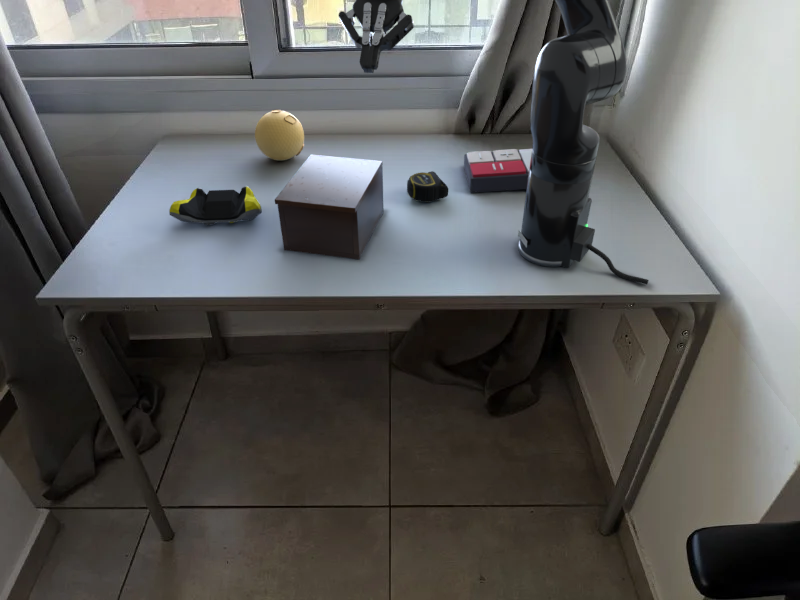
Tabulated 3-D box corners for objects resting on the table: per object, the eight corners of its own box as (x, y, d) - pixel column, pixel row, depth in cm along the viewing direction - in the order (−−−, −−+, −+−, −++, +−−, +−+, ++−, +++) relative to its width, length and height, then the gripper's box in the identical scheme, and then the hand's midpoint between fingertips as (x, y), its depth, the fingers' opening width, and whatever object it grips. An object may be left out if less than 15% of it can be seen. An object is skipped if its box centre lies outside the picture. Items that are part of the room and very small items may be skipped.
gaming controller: (262, 233, 105) (268, 204, 113) (257, 204, 102) (263, 177, 110) (172, 236, 104) (184, 207, 112) (164, 207, 101) (177, 179, 109)
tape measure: (449, 202, 113) (450, 184, 111) (413, 208, 112) (414, 189, 109) (436, 186, 118) (436, 168, 116) (402, 191, 117) (402, 173, 115)
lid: (355, 213, 93) (355, 208, 92) (274, 204, 95) (274, 199, 94) (382, 165, 105) (382, 160, 105) (311, 158, 108) (310, 154, 107)
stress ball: (298, 170, 124) (293, 121, 118) (251, 167, 126) (244, 119, 119) (312, 149, 132) (307, 103, 126) (267, 147, 133) (261, 101, 127)
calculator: (463, 150, 123) (539, 145, 123) (463, 170, 125) (537, 165, 125) (470, 175, 114) (552, 169, 114) (470, 196, 117) (550, 190, 116)
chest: (359, 259, 99) (356, 210, 93) (283, 250, 101) (276, 201, 95) (383, 211, 111) (382, 165, 105) (315, 204, 113) (311, 158, 108)
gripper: (340, -44, 101) (322, 56, 98) (420, -42, 98) (404, 61, 96) (351, -15, 108) (335, 79, 106) (425, -12, 106) (410, 84, 103)
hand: (367, 70), depth 101 cm, fingers closed
